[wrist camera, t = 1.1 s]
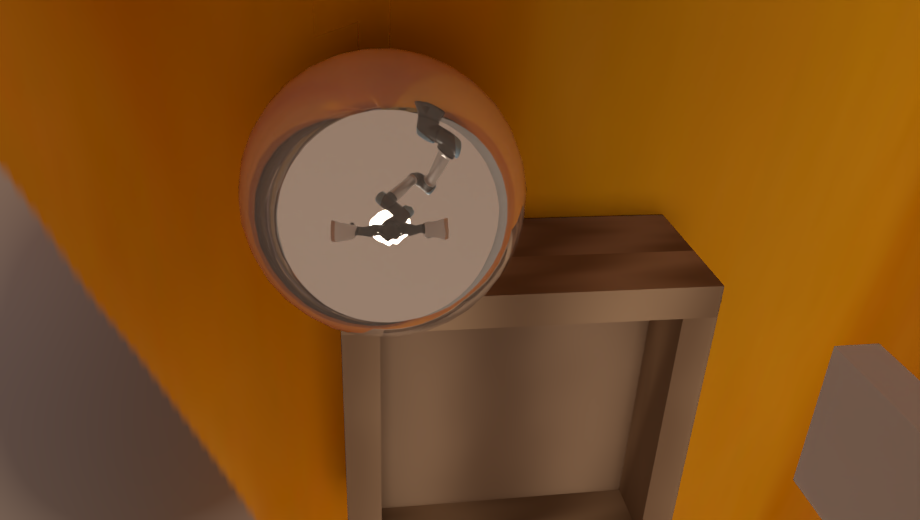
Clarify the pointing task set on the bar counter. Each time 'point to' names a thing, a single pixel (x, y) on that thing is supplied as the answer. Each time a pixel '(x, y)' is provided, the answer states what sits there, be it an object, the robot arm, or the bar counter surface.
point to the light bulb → (382, 192)
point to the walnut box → (540, 385)
